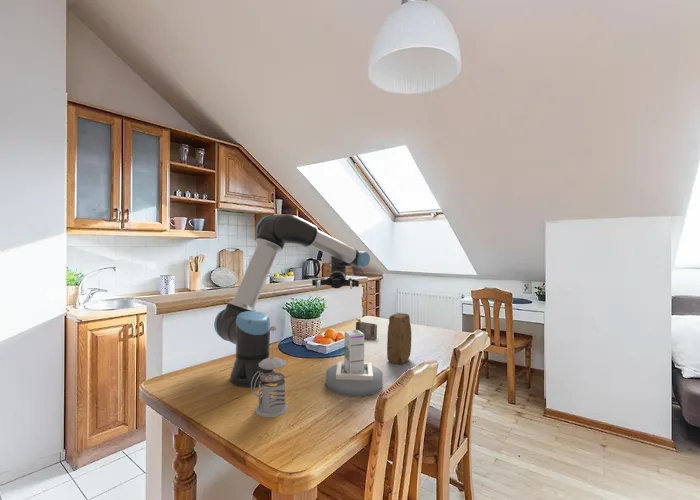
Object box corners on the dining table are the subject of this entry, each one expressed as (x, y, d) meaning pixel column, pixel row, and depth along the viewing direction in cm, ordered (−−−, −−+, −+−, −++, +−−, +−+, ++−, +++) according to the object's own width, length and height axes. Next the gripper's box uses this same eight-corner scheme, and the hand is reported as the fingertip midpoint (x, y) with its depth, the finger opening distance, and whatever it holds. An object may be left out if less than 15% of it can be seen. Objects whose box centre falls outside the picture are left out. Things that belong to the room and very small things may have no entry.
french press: (295, 408, 104) (296, 326, 103) (261, 423, 95) (263, 333, 94) (275, 398, 110) (276, 320, 110) (242, 410, 102) (244, 326, 101)
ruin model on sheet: (355, 336, 183) (355, 318, 183) (357, 335, 186) (358, 317, 186) (374, 340, 177) (374, 321, 177) (376, 339, 180) (377, 320, 180)
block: (400, 366, 141) (401, 317, 140) (384, 361, 145) (386, 314, 145) (413, 359, 149) (414, 313, 148) (398, 355, 154) (399, 310, 153)
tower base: (323, 395, 113) (323, 378, 113) (328, 372, 133) (328, 357, 133) (384, 397, 113) (385, 380, 112) (380, 373, 132) (380, 359, 132)
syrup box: (364, 374, 121) (365, 333, 121) (348, 376, 119) (349, 334, 118) (358, 368, 126) (359, 329, 126) (343, 370, 124) (344, 330, 124)
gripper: (363, 288, 163) (364, 295, 142) (310, 286, 164) (303, 293, 142) (363, 272, 163) (364, 277, 142) (310, 270, 163) (304, 275, 142)
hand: (334, 285), depth 142 cm, fingers open, 13 cm apart
